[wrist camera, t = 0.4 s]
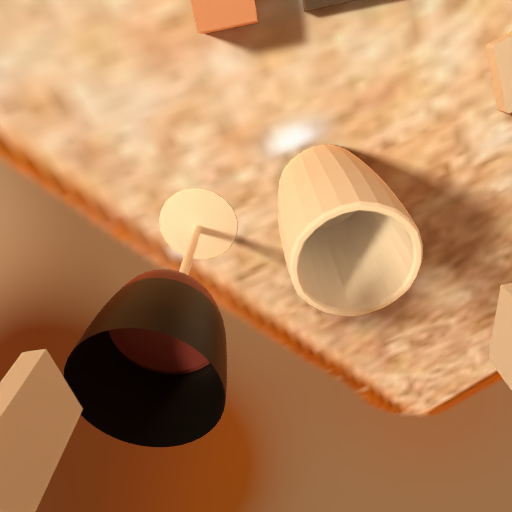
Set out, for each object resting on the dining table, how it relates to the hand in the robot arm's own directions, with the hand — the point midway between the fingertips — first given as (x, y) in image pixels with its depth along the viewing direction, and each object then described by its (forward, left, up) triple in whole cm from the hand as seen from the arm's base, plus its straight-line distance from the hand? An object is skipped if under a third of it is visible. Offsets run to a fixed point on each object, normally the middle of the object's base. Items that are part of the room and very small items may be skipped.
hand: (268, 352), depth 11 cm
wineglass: (+6, -7, -25) cm, 27 cm away
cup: (+4, +5, -25) cm, 26 cm away
